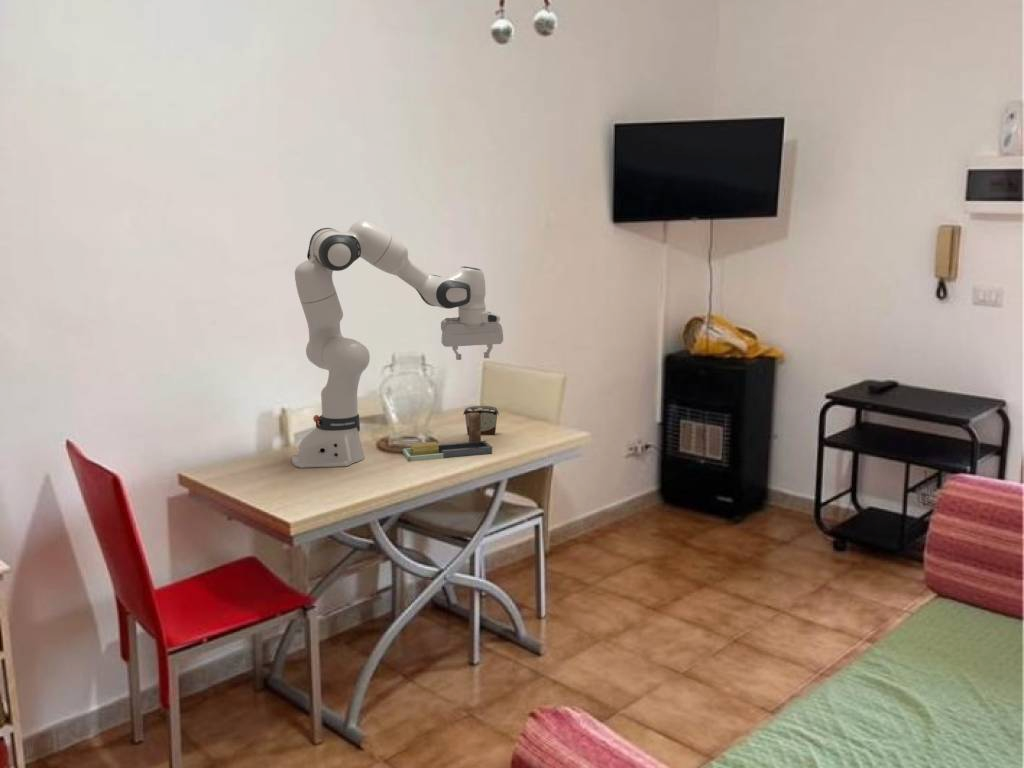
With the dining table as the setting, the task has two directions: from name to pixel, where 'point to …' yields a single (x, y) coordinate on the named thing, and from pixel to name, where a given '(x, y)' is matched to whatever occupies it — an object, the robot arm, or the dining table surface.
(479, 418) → the brown rectangular block
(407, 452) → the tray
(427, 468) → the dining table surface
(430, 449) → the olive yellow cube
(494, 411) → the food container
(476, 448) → the dark grey tray
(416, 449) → the chip
